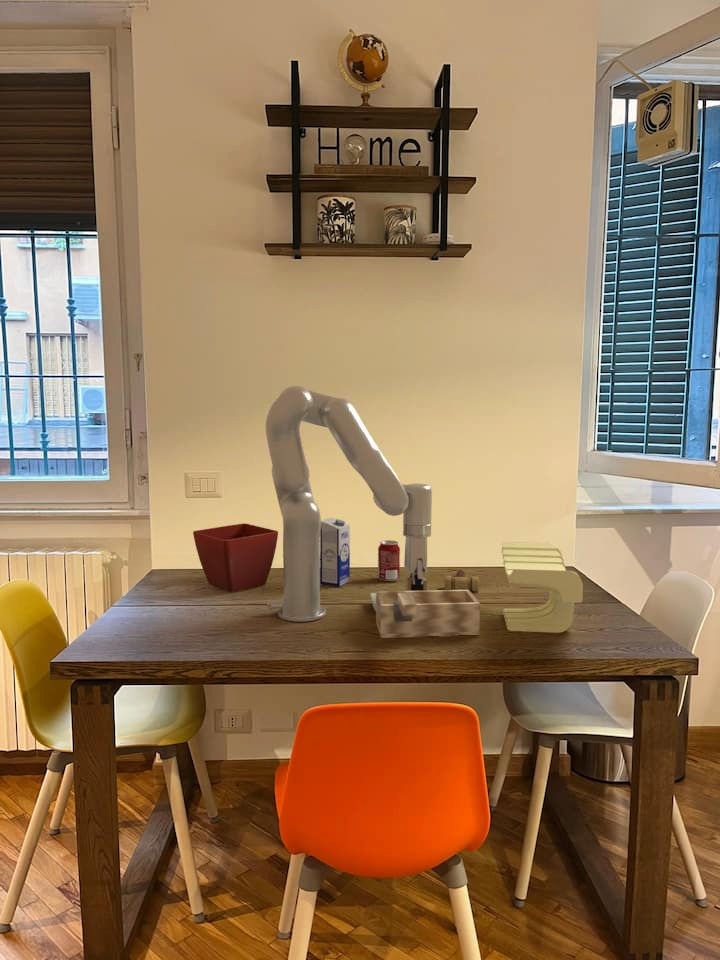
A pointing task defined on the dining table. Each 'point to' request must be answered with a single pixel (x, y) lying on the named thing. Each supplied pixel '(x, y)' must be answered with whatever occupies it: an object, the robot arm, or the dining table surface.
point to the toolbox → (428, 614)
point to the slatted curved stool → (543, 570)
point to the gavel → (461, 582)
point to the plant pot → (236, 555)
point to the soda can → (388, 561)
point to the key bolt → (406, 604)
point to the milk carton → (334, 552)
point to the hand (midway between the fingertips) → (416, 595)
